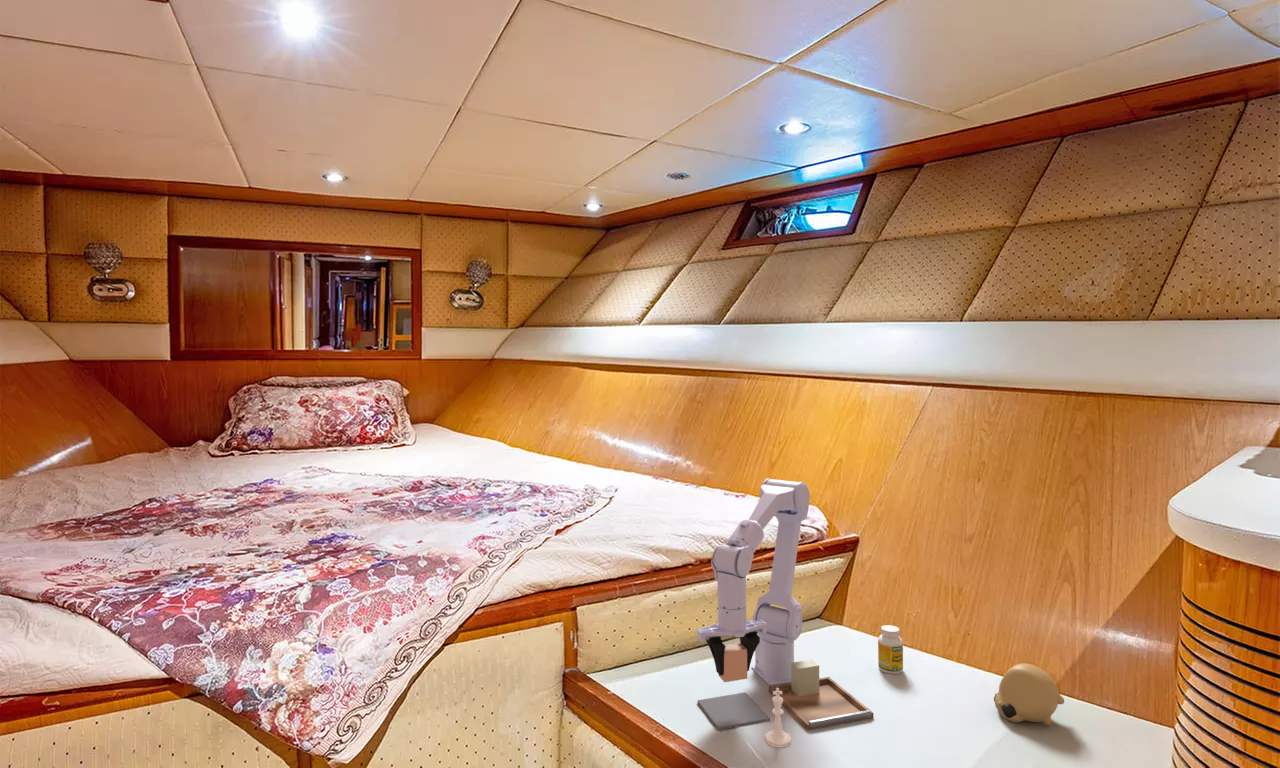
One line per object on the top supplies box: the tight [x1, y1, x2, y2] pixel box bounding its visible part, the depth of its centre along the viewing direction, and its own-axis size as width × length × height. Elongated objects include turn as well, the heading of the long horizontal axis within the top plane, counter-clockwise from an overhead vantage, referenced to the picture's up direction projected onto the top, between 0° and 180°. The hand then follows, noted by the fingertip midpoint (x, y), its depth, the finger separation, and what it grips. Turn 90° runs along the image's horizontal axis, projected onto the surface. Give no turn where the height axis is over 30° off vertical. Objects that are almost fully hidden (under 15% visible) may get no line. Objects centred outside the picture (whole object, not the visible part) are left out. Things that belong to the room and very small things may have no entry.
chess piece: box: [764, 688, 792, 748], centre depth 126 cm, size 5×5×10 cm
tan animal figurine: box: [993, 662, 1065, 726], centre depth 132 cm, size 10×12×11 cm
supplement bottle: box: [877, 624, 904, 675], centre depth 154 cm, size 5×5×10 cm
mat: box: [697, 691, 771, 731], centre depth 136 cm, size 11×11×1 cm
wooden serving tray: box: [768, 676, 874, 731], centre depth 138 cm, size 16×15×2 cm
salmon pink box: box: [718, 643, 748, 683], centre depth 136 cm, size 3×5×6 cm, turn 106°
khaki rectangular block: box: [791, 659, 820, 697], centre depth 144 cm, size 3×5×6 cm, turn 106°
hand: (732, 671), depth 136 cm, fingers closed on salmon pink box, 5 cm apart
